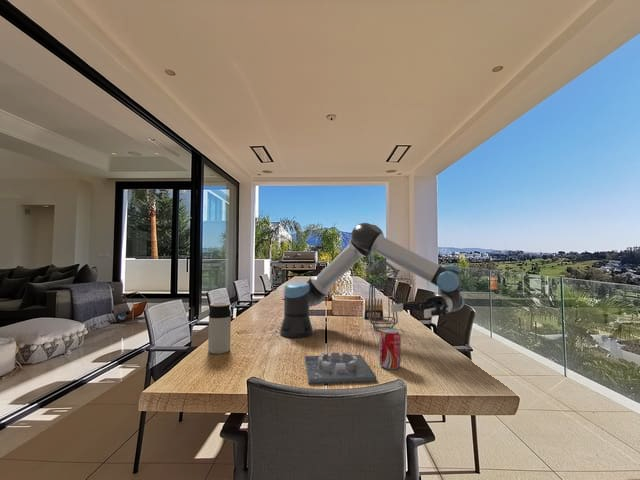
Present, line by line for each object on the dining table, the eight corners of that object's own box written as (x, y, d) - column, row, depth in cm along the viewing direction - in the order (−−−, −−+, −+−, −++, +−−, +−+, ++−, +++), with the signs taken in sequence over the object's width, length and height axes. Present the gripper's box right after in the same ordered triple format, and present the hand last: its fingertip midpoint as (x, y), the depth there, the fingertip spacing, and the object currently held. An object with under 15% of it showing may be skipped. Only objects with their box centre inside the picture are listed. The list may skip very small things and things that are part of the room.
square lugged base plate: (308, 384, 91) (308, 370, 91) (304, 360, 111) (305, 349, 111) (376, 382, 93) (376, 368, 93) (360, 359, 113) (360, 347, 113)
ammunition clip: (382, 318, 183) (382, 297, 183) (383, 319, 181) (383, 298, 182) (364, 318, 183) (364, 297, 183) (364, 319, 181) (364, 298, 181)
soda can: (376, 363, 109) (376, 328, 110) (396, 362, 110) (396, 327, 110) (382, 370, 102) (382, 333, 102) (403, 370, 103) (403, 332, 103)
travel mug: (227, 354, 117) (228, 305, 118) (205, 354, 117) (206, 305, 117) (232, 347, 125) (233, 301, 126) (211, 348, 125) (212, 301, 125)
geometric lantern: (402, 333, 149) (400, 259, 150) (368, 334, 149) (367, 260, 150) (394, 325, 165) (393, 258, 166) (364, 326, 165) (363, 258, 166)
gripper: (470, 319, 117) (441, 328, 103) (411, 310, 136) (380, 316, 122) (469, 298, 117) (440, 304, 103) (411, 292, 136) (379, 297, 122)
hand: (407, 311), depth 113 cm, fingers open, 13 cm apart
